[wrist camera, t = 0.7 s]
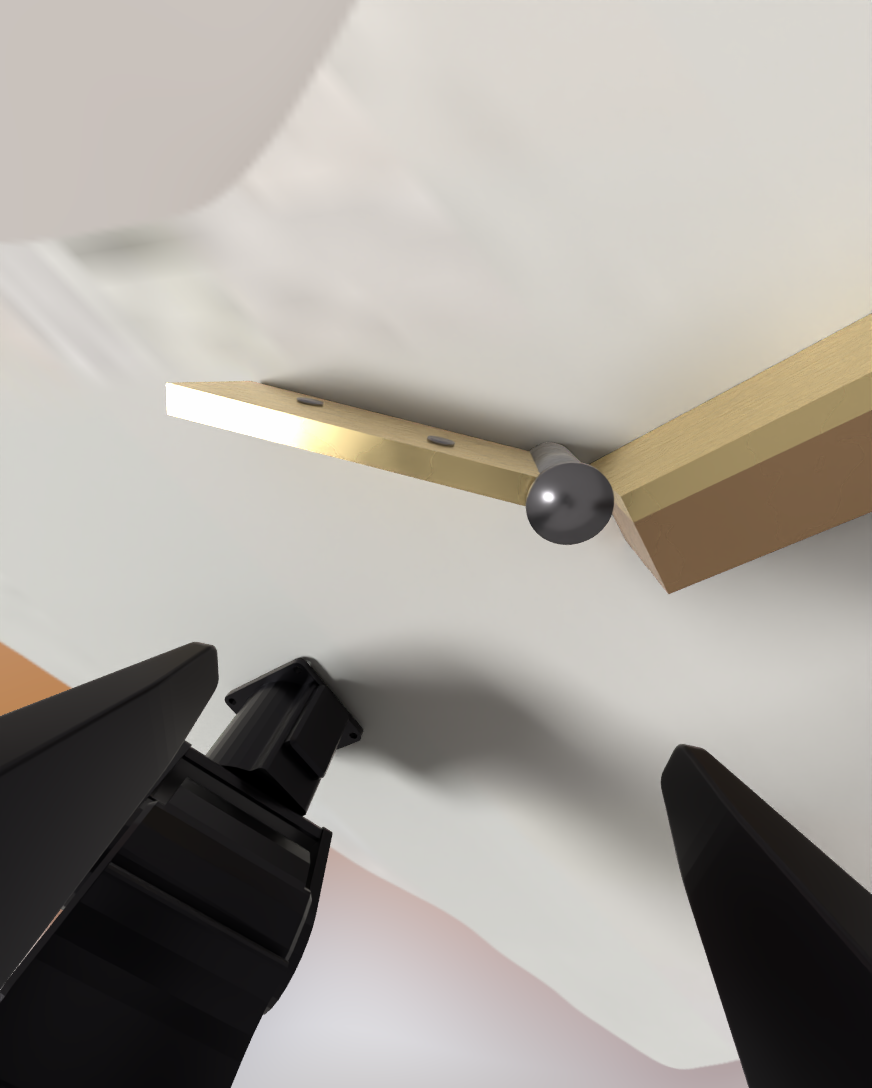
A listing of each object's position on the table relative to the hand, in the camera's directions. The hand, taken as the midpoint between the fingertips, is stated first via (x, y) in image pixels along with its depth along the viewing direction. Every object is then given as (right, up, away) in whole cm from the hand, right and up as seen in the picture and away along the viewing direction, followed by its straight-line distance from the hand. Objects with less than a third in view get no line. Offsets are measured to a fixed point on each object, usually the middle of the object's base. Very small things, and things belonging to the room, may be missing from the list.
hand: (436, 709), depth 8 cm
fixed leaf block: (+13, +8, +8) cm, 17 cm away
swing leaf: (-1, +8, +10) cm, 13 cm away
